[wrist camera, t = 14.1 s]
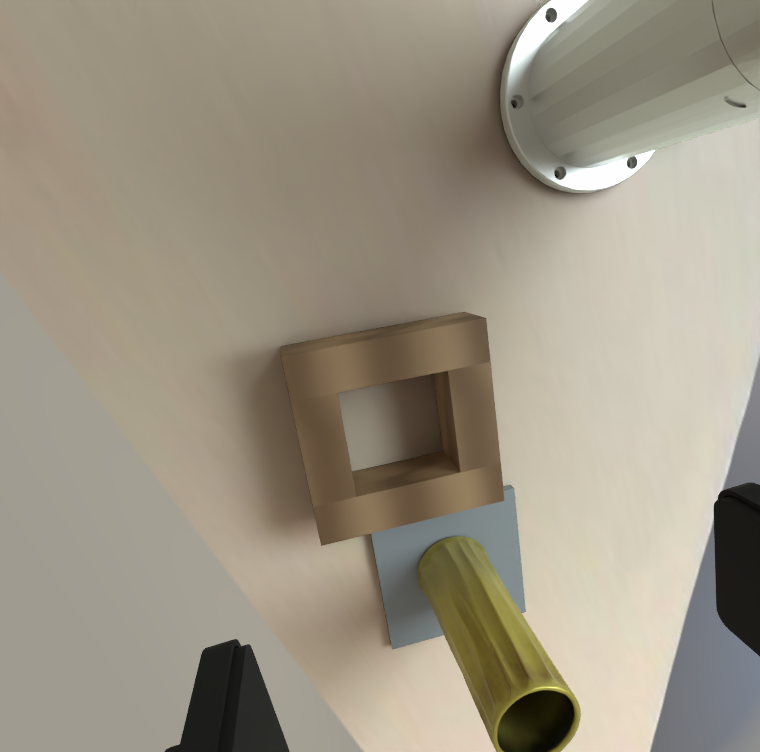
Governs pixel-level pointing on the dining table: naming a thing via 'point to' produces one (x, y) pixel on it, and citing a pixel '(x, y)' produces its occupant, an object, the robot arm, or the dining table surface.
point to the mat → (409, 544)
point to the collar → (408, 477)
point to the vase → (497, 651)
